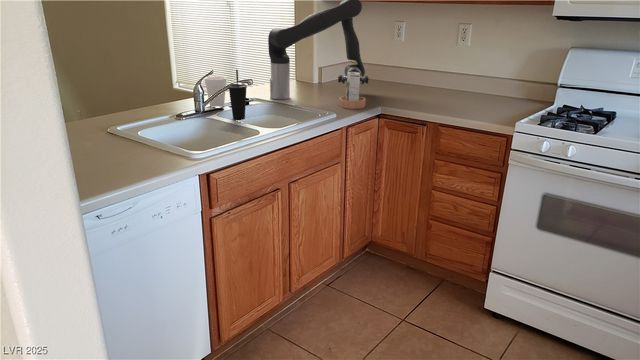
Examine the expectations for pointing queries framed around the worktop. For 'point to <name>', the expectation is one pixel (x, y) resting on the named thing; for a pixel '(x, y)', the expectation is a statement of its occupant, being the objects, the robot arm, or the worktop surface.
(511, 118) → the worktop surface
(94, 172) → the worktop surface
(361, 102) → the terracotta bowl
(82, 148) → the worktop surface
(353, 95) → the syrup box
